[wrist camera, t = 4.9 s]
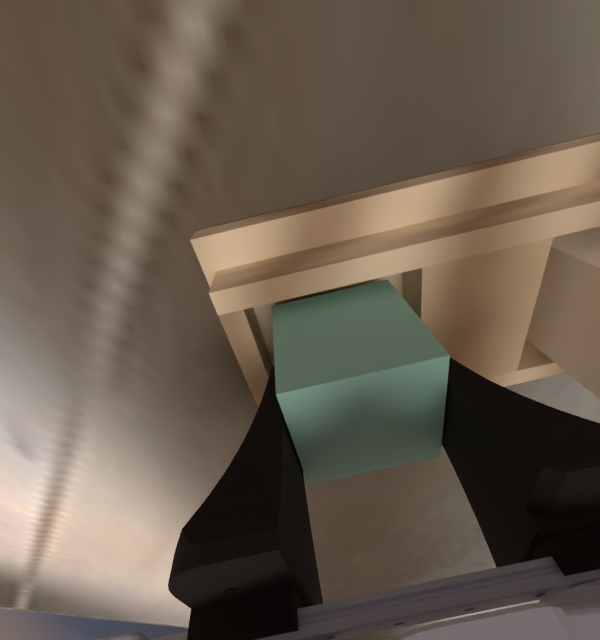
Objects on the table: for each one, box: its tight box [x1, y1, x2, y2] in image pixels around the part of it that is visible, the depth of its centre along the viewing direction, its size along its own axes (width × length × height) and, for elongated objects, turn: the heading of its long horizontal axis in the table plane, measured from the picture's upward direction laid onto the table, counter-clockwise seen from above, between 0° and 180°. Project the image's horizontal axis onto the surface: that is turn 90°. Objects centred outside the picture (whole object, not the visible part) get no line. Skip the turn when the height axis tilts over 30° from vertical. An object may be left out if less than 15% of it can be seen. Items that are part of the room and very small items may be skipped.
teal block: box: [272, 280, 450, 485], centre depth 12 cm, size 5×5×5 cm
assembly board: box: [190, 134, 600, 408], centre depth 15 cm, size 22×12×3 cm, turn 102°
